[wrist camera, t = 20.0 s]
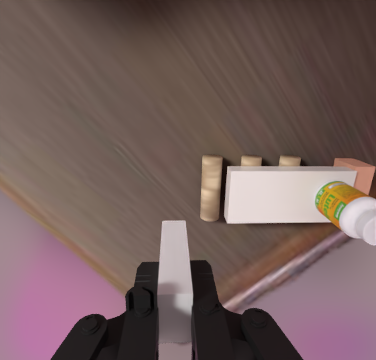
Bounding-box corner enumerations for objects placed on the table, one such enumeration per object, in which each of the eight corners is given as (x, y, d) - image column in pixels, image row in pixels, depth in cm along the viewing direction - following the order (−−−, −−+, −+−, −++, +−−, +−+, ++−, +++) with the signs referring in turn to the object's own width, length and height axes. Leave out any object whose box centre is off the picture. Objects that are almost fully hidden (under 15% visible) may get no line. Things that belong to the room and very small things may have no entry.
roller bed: (199, 212, 44) (201, 221, 41) (201, 154, 41) (203, 159, 38) (286, 212, 45) (294, 220, 42) (295, 155, 42) (304, 159, 39)
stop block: (324, 209, 45) (342, 223, 40) (335, 158, 42) (355, 166, 38) (341, 209, 45) (361, 222, 41) (352, 158, 42) (375, 166, 38)
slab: (224, 215, 41) (227, 223, 39) (227, 166, 38) (231, 171, 36) (335, 214, 42) (344, 222, 40) (345, 166, 40) (356, 171, 37)
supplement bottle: (312, 182, 37) (358, 212, 28) (350, 176, 37) (408, 204, 28) (312, 216, 39) (355, 254, 30) (347, 210, 39) (402, 247, 30)
